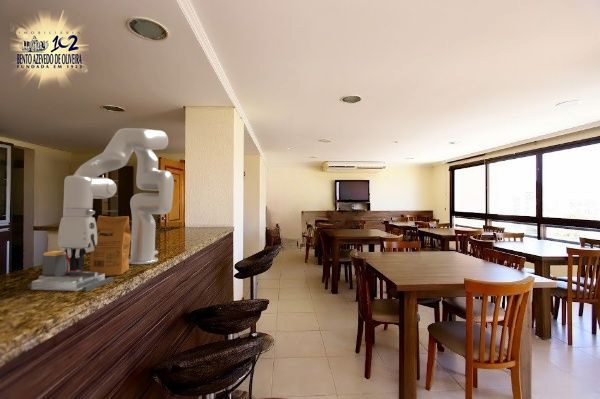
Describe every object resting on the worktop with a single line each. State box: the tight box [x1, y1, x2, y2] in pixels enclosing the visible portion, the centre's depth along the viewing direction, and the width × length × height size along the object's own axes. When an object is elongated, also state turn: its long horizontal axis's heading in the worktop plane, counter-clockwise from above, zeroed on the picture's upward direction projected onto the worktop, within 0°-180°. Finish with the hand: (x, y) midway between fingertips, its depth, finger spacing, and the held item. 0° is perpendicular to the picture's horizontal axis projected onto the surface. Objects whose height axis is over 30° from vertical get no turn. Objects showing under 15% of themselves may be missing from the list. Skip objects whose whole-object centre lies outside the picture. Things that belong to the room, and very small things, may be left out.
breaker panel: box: [30, 271, 106, 292], centre depth 91 cm, size 12×14×3 cm
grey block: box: [42, 250, 66, 276], centre depth 92 cm, size 4×4×8 cm
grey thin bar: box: [81, 276, 115, 292], centre depth 91 cm, size 12×1×1 cm, turn 179°
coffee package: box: [89, 215, 132, 277], centre depth 107 cm, size 10×12×22 cm
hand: (76, 269), depth 92 cm, fingers closed
